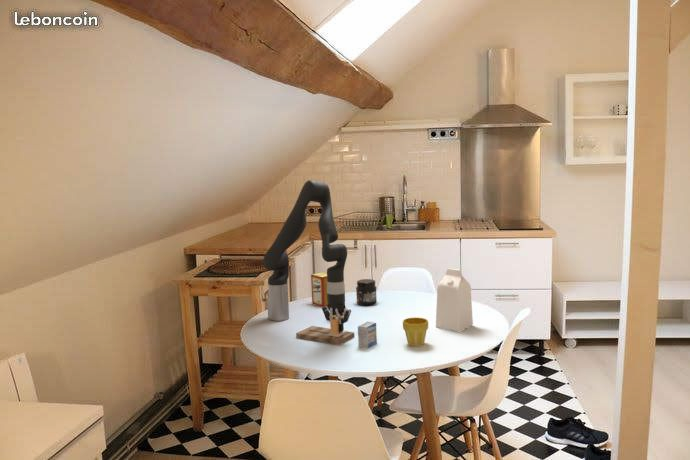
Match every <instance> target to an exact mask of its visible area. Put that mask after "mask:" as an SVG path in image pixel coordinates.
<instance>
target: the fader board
mask: <svg viewBox="0 0 690 460" xmlns="http://www.w3.org/2000/svg"><path fill="white" fill-rule="evenodd" d="M345 331H346V334H344V335H342V336H340V337H334V336H328V334H329V333H331V328H328V327H323V326H316V325H312V326H311V325H310V326H309V327H307V328H305V329H302V330H300V331H298V332H296V333H295V334H296V335H295V337H296V339H301V340H306V341H307V340H308V341H313V342H318V343H324V344H329V345H330V344H331V345H336V346H341V345H343V344H344V343H346V342H348V341H350V340H351V339H353V338H355V332H353V331H347V330H345Z"/></svg>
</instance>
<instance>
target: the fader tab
mask: <svg viewBox="0 0 690 460" xmlns="http://www.w3.org/2000/svg"><path fill="white" fill-rule="evenodd" d="M338 324H339V322H338V319H337V317H336V318H334V319H331V326H330V329H331V333H329V334H328V336H334V337H340V336H342V335H344V334H346V331H347V330H343V331H342V332H339V325H338Z"/></svg>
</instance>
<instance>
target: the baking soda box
mask: <svg viewBox="0 0 690 460" xmlns="http://www.w3.org/2000/svg"><path fill="white" fill-rule="evenodd" d="M310 279H311V304H312V305H314V304H315V306H318V307H321V306H322V307H321V308H323V307H325V306H327V305H328V302H327V273H326V272H318V273H312V274H310Z"/></svg>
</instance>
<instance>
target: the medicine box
mask: <svg viewBox="0 0 690 460" xmlns="http://www.w3.org/2000/svg"><path fill="white" fill-rule="evenodd" d="M377 334H378V333H377V322H373V321H366V322H364V323H362V324H360V325H358V326H357V340H358V341H357V342H358V343H357V345H358V347H359V348H365V349H368V348H370V347H372V346H374V345H375V344H376V343H377V341H378V340H377V339H378V338H377V337H378V336H377Z"/></svg>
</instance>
